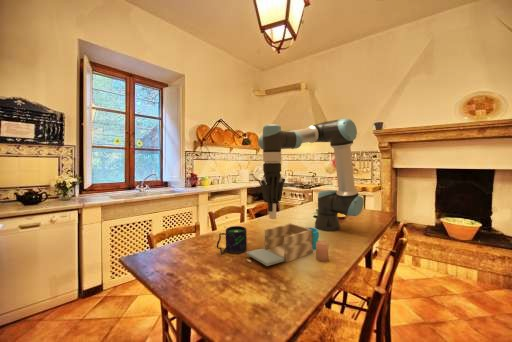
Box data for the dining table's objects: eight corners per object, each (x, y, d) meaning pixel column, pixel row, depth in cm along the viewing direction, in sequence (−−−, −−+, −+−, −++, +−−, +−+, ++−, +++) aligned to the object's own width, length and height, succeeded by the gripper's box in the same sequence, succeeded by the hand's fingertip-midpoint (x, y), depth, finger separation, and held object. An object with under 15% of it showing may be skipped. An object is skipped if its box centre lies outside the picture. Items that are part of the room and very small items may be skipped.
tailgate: (264, 247, 106) (246, 252, 100) (285, 258, 95) (267, 263, 89) (264, 250, 106) (246, 254, 100) (285, 260, 95) (267, 266, 89)
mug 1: (241, 244, 116) (241, 224, 116) (250, 251, 107) (249, 230, 107) (212, 250, 109) (211, 229, 109) (218, 258, 100) (218, 235, 100)
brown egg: (320, 255, 102) (320, 240, 102) (330, 259, 98) (330, 243, 98) (313, 258, 99) (313, 242, 99) (323, 262, 95) (323, 246, 95)
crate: (290, 243, 117) (290, 223, 116) (312, 252, 106) (312, 230, 105) (264, 251, 106) (264, 229, 106) (286, 262, 95) (286, 237, 95)
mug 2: (311, 251, 107) (311, 233, 107) (297, 246, 113) (297, 230, 113) (325, 244, 115) (325, 228, 115) (311, 240, 121) (311, 225, 121)
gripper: (277, 162, 103) (278, 214, 104) (254, 162, 95) (255, 219, 96) (289, 162, 97) (290, 217, 98) (265, 163, 89) (266, 223, 90)
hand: (272, 218), depth 97 cm, fingers closed
